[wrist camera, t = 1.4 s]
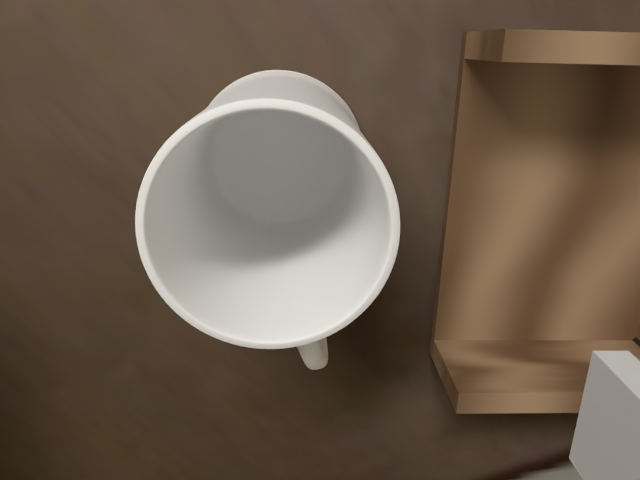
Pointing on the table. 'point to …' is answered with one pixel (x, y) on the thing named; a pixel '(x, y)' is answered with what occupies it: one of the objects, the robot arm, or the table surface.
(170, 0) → the table surface
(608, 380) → the robot arm
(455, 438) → the table surface
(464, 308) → the keeper cradle
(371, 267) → the mug
